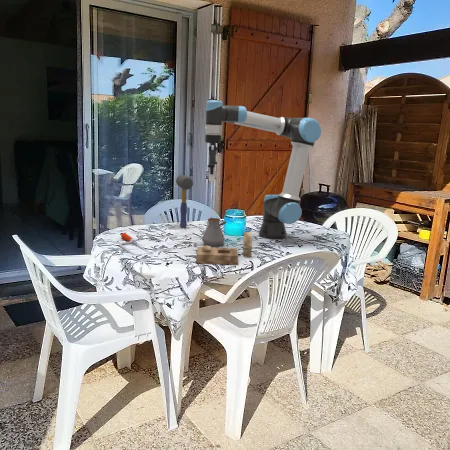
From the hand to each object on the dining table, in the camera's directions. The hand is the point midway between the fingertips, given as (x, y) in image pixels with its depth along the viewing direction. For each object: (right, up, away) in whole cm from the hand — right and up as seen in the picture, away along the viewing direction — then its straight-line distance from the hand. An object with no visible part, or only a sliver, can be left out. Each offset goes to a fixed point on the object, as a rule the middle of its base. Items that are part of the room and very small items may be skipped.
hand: (212, 179), depth 221 cm
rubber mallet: (-18, -23, +44) cm, 53 cm away
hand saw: (-39, -33, 0) cm, 51 cm away
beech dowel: (+16, -36, -7) cm, 40 cm away
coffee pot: (+2, -33, +6) cm, 33 cm away
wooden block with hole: (+3, -37, -15) cm, 40 cm away
